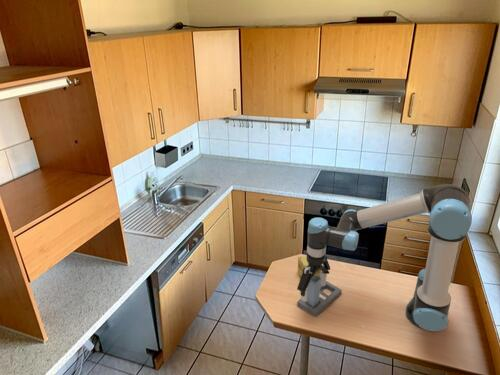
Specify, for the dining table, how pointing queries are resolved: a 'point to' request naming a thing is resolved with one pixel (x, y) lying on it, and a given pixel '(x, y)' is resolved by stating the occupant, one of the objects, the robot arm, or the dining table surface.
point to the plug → (313, 291)
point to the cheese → (305, 266)
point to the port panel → (321, 300)
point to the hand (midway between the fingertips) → (313, 292)
